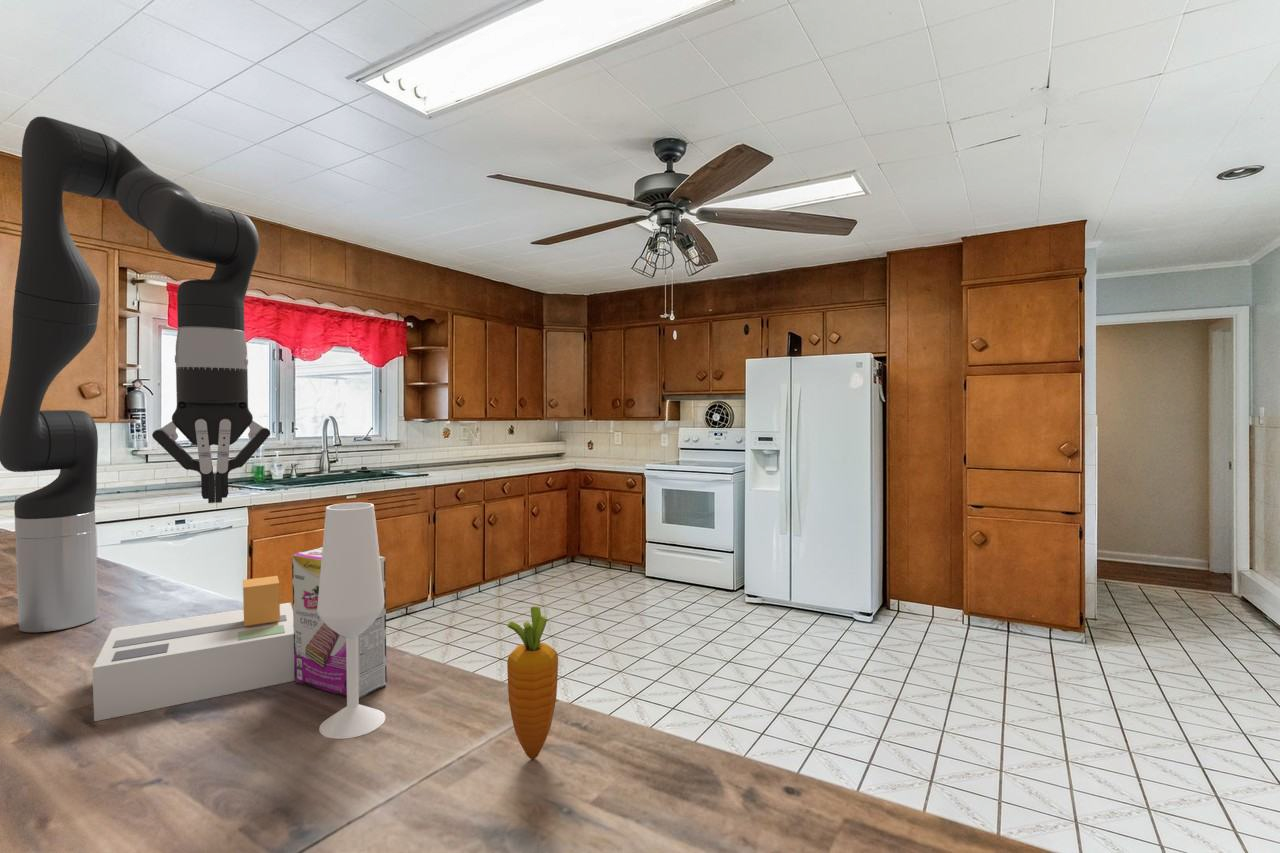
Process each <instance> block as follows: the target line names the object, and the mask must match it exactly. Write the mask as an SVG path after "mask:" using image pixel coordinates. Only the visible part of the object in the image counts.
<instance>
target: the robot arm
mask: <svg viewBox="0 0 1280 853" xmlns="http://www.w3.org/2000/svg"><path fill="white" fill-rule="evenodd" d="M64 192H67V193H71V194H75V195H80V196H84V197H87V198H88V197H89V198H92V199H101V200H102V199H103V200H111V201H116V202H117V204H118V205H119V207H120V208H121V210H122V211H123V212H124V214H125V215H126V216H127V217H128V218H130V219H131V220H133V222H135V223H137V224H138V225H140V226H141V227H142V228H145V229H146V230H148V231H150V232H151V234H152V235H153V236H154V238H155V239H156V240H157V242H158V243H159V245H160V247H162V248H163V249H164V250H165V251H167V252H169V253H171V254H173V255H175V256H178V257H180V258H185V259H190V260H194V261H199V262H205V263H210V264H215V269H214V271H213V273H212V274H211V277H210V278H208V279H204V278H203V279H189V280H186V281H183V282H181V283H180V284H179V285H178V286H177V293H176V297H177V298H176V300H177V302H176V308H177V310H176V311H177V313H176V314H177V333H176V340H175V341H176V342H175V355H174V363H175V376H176V377H175V378H176V379H175V381H176V382H175V386H176V387H175V388H176V392H175V393H176V407H175V411H174V412H173V414H172V416H171V421H170V422H168V423H167V424H166V425H164V426H163V427H161V428H159V429H155V430H154V431H153V432H152V434H151V436H152V438H153V439H154V440H155V442H156V443H158V445H160V446H161V447H162V449H164V450H165V451H166V452H167V453H168V454H169V455H170V456H171V457H172V458H173V459H174V460H175V461H176V462H177V463H178V464H179V465H180V466H181V467H182V468H183V469H184V470H187V471H189V470H191V471H195V472H197V473H199V474H200V480H201V481H200V483H201V484H200V485H201V486H200V487H201V496H202V499H203V500H207V501H208V502H207V503H208V504H220V503H223V499H225V498H227V497H228V495H229V473H230V472H231V471H233V470H235V469H240V468H242V467H243V466H244V465H246V463H247V462H248V461H249V460H250V459H251V457H252V456H253V455H254V454H255V453H256V452H257V451H258V450H259V449H260V447H261V446H262V445H263V444H264V442H265V441H266V440H267V439H268V438H269V437H270V436H271V430H270V429H268V428H267V427H263V426H262V425H260V424H259V423H257V422H255V421H254V420H253V418H254V417H253V413H252V412H251V411H250V408H249V392H248V391H249V389H248V388H249V382H248V379H249V378H248V377H249V375H248V373H249V372H248V365H249V360H248V347H247V346H248V345H247V341H246V335H245V334H246V333H245V299H246V295H247V291H248V287H249V284H250V281H251V280H250V279H251V276H252V273H253V269H254V267H255V263H256V261H257V257H258V255H259V254H258V253H259V248H260V238H259V234H258V230H257V227H256V226H255V224H254V222H253V221H252V220H251V219H250V217H248V216H247V215H246V214H245V213H241V212H239V211H236V210H232V209H228V208H225V207H221V206H217V205H213V204H210V203H207V202H202V201H201V200H200V199H199V198H198V197H197V196H196V195H195V194H193V193H192V192H191V191H189V190H188V189H187V188H185V187H183V186H180V185H179V184H177V183H175V182H173V181H171V180H170V179H167V178H165V177H163V176H161V175H160V174H158V173H157V172H155V171H153V170H152V169H150V168H149V167H148V166H147V165H146V164H145V163H144V162H142V160H140V159H139V158H138V157H137V156H136V155H135V154H134V153H133V152H132V151H131V150H129V149H128V148H127V147H126V146H125V145H123V144H122V143H121V142H120V141H119V140H117V139H115V138H114V137H111V136H110V135H107V134H104V133H102V132H101V133H100V132H97V131H95V130H92V129H88V128H85V127H83V126H82V127H81V126H78V125H76V124H72V123H70V122H69V123H68V122H66V121H62V120H59V119H56V118H52V117H46V116H36V117H33V119H31V120H30V121H29V123H28V125H27V126H26V128H25V130H24V134H23V138H22V146H21V234H20V248H19V256H18V264H17V270H16V271H17V272H16V279H15V286H14V297H13V308H12V327H11V328H12V329H11V330H12V331H11V342H10V343H11V345H10V359H9V367H8V374H7V378H6V385H5V390H4V395H3V399H2V406H1V409H0V410H1V411H0V464H1V466H2V467H3V468H4V469H6V470H7V471H10V472H12V473H29V472H30V473H31V472H42V471H43V472H45V471H59V470H60V471H59V474H58V476H57V477H56V479H54V480H52V481H51V482H50V483H49V484H47V485H45V486H43V487H41V488H38V489H36V490H34V491H31V492H29V493H28V492H27V493H26V494H23V495H20V496H19V497H18V498H16V499H15V501H14V507H13V508H14V531H15V532H14V536H15V556H16V558H15V559H16V560H15V561H16V581H17V582H16V583H17V584H16V586H17V614H18V630H19V631H20V632H24V633H45V632H52V631H53V632H55V631H60V630H65V629H71V628H74V627H77V626H80V625H81V626H82V625H84V624H88V623H90V622H92V621H94V620H95V619H97V618H98V617H99V601H98V600H99V599H98V571H97V570H98V567H97V566H98V565H97V564H98V563H97V562H98V561H97V536H96V534H97V533H96V504H95V503H96V496H97V487H98V486H97V482H98V481H97V480H98V479H97V477H98V476H97V475H98V472H97V471H98V450H99V449H98V448H99V437H98V428H97V425H96V422H95V420H94V419H93V417H92V416H91V415H90V414H89V413H88V412H86V411H83V410H77V409H74V410H73V409H72V410H71V409H67V410H66V409H65V410H64V409H60V410H59V409H58V410H56V409H55V410H53V409H52V410H50V409H49V410H47V409H46V410H41V407H42V404H43V400H44V398H45V396H46V393H47V391H48V388H49V387H50V386H51V384H52V382H53V381H54V380H55V379H56V377H57V376H58V375H59V374H60V372H62V371H63V370H64V368H66V367H67V366H68V365H69V364H70V363H71V362H73V360H75V358H76V357H77V356H78V355H79V354H80V353H81V352H82V351H83V350H84V349H85V348H86V346H87V345H88V344H89V343H90V342H91V340H92V339H93V337H94V336H95V334H96V331H97V327H98V318H99V309H100V301H101V289H100V286H99V283H98V280H97V279H96V276H95V275H94V273H93V271H92V270H91V267H90V266H89V265H88V263H87V261H86V260H85V258H84V257H83V255H82V253H81V252H80V250H79V248H78V247H77V245H76V244H75V242H74V240H73V238H72V236H71V235H70V232H69V229H68V228H67V224H66V220H65V215H64V208H63V194H64ZM248 428H249V431H248V433H247V437H248V438H249V439H250V440H249V441H248V442H247V444H246V445H245V446H244V447H243V448H242V449H241V450H240V451H239V453H238V454H237V455H236V456H235V457H234V458H231V459H229V458H230V446H231V445H233V444H234V443H236V442H237V441H238V440H239V438H241V436H242V435H243V434H244V432H245V431H247V429H248ZM177 429H178V430H179V431H180V433H182V435H183V436H184V437H185V438H186V439H187V440H188V441H189V442H190V444H191V443H192V445H195V446H196V447H197V454H198V459H194V457H192V456H191V455H190V454H189V453H188V452H187V451H186V450H185V449H184V448H183V447H182V446H181V445H180V444H179V443H178V442H177V440H178V438H179V434H178V433H177ZM213 445H214V446H217V456H216V471H214V467H213V460H212V451H211V450H212V449H211V446H213Z"/></svg>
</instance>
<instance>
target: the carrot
mask: <svg viewBox="0 0 1280 853" xmlns="http://www.w3.org/2000/svg"><path fill="white" fill-rule="evenodd" d="M530 616H531V622H530V621H525V622H523V628H524V629H523V628H522V627H521V625H519V624H518V623H517V622H515V621H509V622H508V623H507V627H508V628H509V629H511V630H513V631H514V632H515V633H516V635H518V637H519V638H520V639H521V641H522V644H519V645H517V646H516V647H515V648H514V649H513V650H512V651H511V653H510V654H509V655H508V658H507V660H506V661H507V662H506V663H507V664H506V667H507V668H506V670H507V693H508V705H509V711H510V715H511V720H512V724H513V729H514V732H515V735H516V737H517V740H518V742H519V744H520V745H521V748H522V750H523V752H524V753H525V755H526V756H527V757H528V758H529V759H530V760H531V761H534V760H535V759H537V757H538V756H539V754H540V753H541V750H542V749H543V747H544V744H546V743H545V742H546V741H547V738H548V735H549V732H550V730H551V726H552V722H553V717H554V713H555V708H556V703H557V702H556V701H557V695H558V694H557V693H558V678H559V676H558V674H559V656H558V652H557V651H556V650H555V649H554V647H551V646H550V645H549V644H547V643H545V642H541V638H542V635H543V634H544V631H545V628H546V625H547V622H548V619H547V617H546V615H545V616H544V615H542V612H541V608H540V607H539V606H537V605H533V606H532V607H530Z"/></svg>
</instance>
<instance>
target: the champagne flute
mask: <svg viewBox="0 0 1280 853" xmlns="http://www.w3.org/2000/svg"><path fill="white" fill-rule="evenodd" d="M377 531H378V530H377V520H376V513H375V505H374V503H370V502H346V503H345V502H344V503H336V504H331V505H328V506H326V507H325V517H324V527H323V538H322V547H323V549H322V560H321V571H320V583H319V594H318V605H317V611H318V615H319V617H320V618H321V620H322V621H323V622H324V623H325V624H326V625H327V626H328V627H329V628H331V629H332V630H334V631H335V632H336V633H338V634H339V635H341V636H344V637H346V668H347V697H346V706H345V707H343V708H341V709H340V710H338V711H337V712H336V713H335V712H334V714H332V715H331V716H329V717H327V718H326V719H325V720H324V721H323V722H322V723H321V724H320V725H319V728H318V730H319V733H320V734H321V735H322V736H323V737H325V738H329V739H338V740H341V739H342V740H343V739H352V738H356V737H357V738H358V737H360V736H364V735H367V734H369V733H371V732H373V731H375V730H377V729H378V728H380V727H381V726H382V725H383V724H384V722H385V721H386V714H385V713H384V712H383V711H381V710H379V709H377V708H373V707H370V706H366V705H363V704H360V702H359V700H360V699H359V694H358V635H360V634H361V633H363V632H364V631H365V630H366V629H367V628H368V627H369V626H370V625H371V624H372V623H373V622H374V621H375V620H376V619H377V617H378V616H379V614H380V613H381V611H382V609H383V607H384V603H385V600H384V591H383V582H382V573H381V564H380V556H381V555H380V548H379V539H378V532H377Z"/></svg>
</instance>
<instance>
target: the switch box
mask: <svg viewBox="0 0 1280 853" xmlns="http://www.w3.org/2000/svg"><path fill="white" fill-rule="evenodd" d="M293 625H294V623H293V605H292V602H286V603H280V621H275V622H268V623H262V624H256V625H249V626H244V608H243V609H237V610H231V611H223V612H217V613H208V614H202V615H198V616H197V615H196V616H189V617H182V618H175V619H168V620H160V621H155V622H148V623H141V624H134V625H128V626H120V627H113V628H112V629H111V631H110V632H109V635H108V637H107V639H106V641H105V642H104V645H103V646H102V648H101V650H100V652H99V653H98V654H99V655H98V656H97V658H96V660H95V662H94V664H93V666H92V691H93V692H92V694H93V722H98V721H104V720H108V719H109V720H110V719H113V718H119V717H123V716H129V715H133V714H138V713H143V712H147V711H152V710H157V709H162V708H168V707H172V706H177V705H183V704H187V703H192V702H197V701H198V702H199V701H202V700H207V699H210V698H211V699H212V698H217V697H221V696H222V697H223V696H226V695H227V696H228V695H231V694H235V693H236V694H237V693H241V692H245V691H251V690H256V689H261V688H266V687H271V686H275V685H276V686H277V685H280V684H285V683H291V682H295V681H294V680H295V678H294V629H293Z"/></svg>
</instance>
